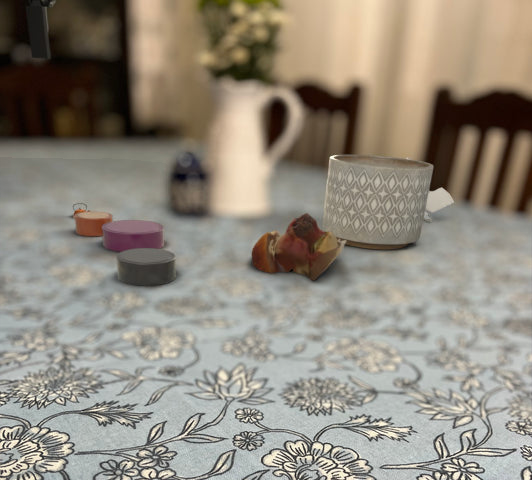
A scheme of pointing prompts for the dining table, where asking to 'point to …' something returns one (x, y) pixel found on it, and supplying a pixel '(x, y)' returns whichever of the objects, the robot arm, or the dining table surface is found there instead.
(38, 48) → the robot arm
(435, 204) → the figurine
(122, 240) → the purple disc
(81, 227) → the terracotta dish
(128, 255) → the dark gray disc
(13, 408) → the dining table surface
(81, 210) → the teapot
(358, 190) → the planter
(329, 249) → the reddish lumpy part
